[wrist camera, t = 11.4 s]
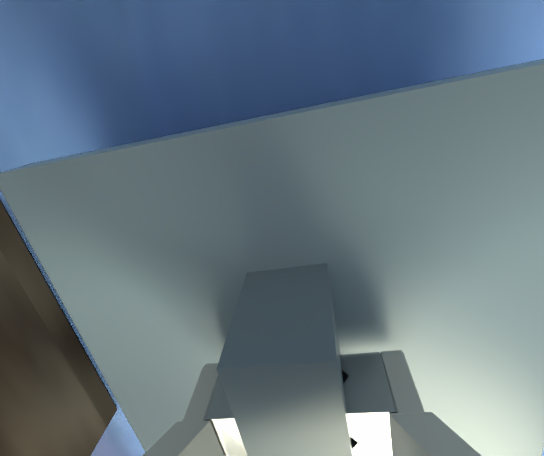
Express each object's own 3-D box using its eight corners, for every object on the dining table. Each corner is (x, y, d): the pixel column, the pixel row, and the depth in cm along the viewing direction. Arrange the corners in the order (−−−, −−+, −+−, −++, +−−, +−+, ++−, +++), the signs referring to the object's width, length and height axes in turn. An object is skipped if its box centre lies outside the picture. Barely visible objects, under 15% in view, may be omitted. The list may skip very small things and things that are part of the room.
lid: (57, 155, 10) (-181, 226, 5) (540, 56, 7) (939, 13, 3) (186, 436, 15) (129, 603, 10) (498, 427, 13) (613, 636, 8)
